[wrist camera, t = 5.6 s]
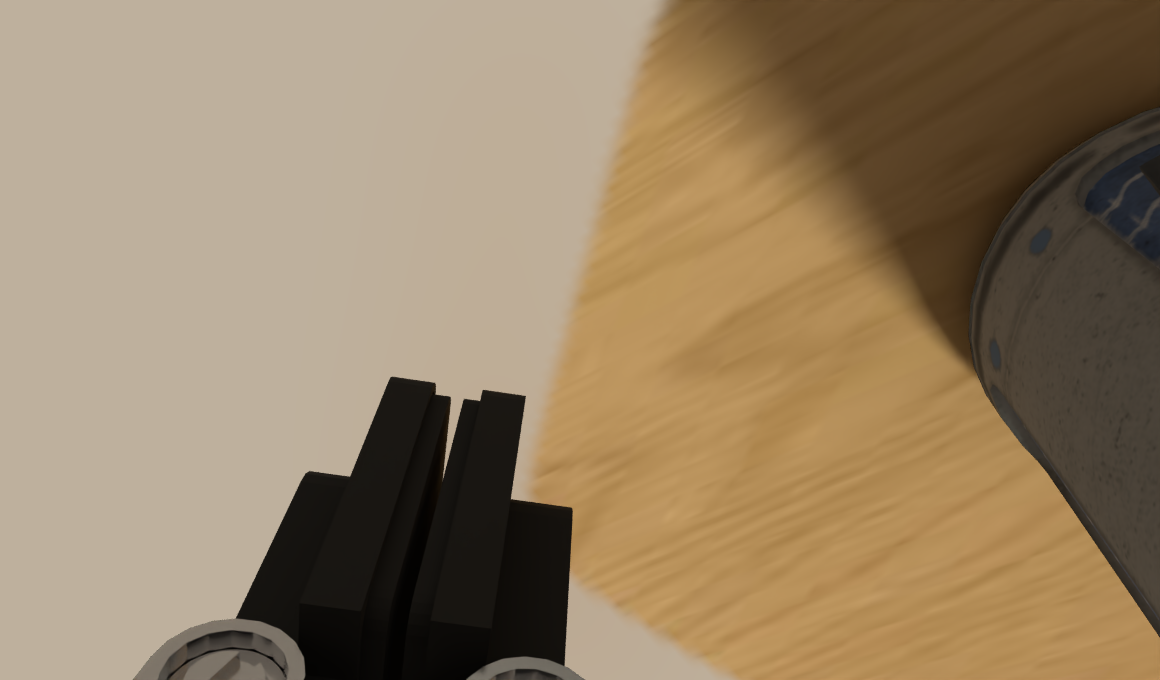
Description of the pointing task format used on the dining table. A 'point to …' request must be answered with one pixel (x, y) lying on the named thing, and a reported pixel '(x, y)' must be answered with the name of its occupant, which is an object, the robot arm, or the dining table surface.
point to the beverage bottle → (1085, 340)
